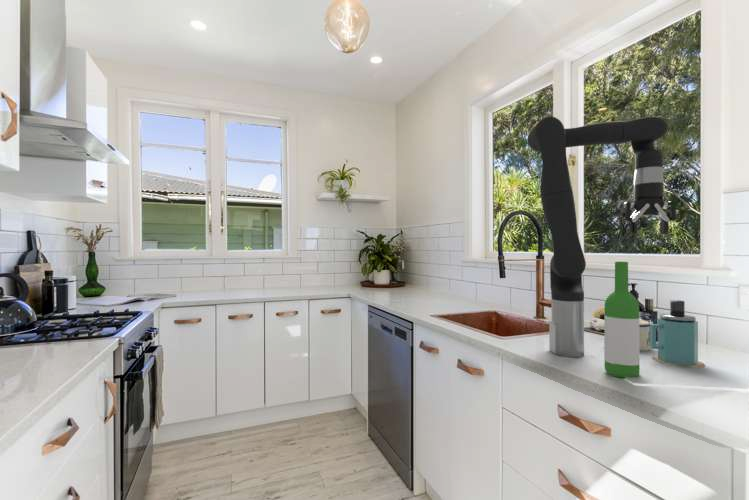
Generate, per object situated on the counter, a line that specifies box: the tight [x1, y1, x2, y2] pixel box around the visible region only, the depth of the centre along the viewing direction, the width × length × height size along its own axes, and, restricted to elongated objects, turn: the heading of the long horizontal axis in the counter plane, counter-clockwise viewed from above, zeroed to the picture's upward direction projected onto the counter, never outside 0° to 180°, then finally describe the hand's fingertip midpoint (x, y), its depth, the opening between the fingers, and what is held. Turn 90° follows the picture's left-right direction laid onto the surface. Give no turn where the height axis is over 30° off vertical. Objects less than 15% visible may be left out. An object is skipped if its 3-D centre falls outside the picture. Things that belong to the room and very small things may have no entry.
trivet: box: [651, 354, 706, 369], centre depth 107 cm, size 12×12×1 cm
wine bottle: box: [603, 261, 641, 379], centre depth 98 cm, size 8×8×30 cm
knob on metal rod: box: [659, 299, 697, 322], centre depth 107 cm, size 8×8×15 cm
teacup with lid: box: [639, 317, 651, 351], centre depth 125 cm, size 12×9×12 cm
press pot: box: [649, 317, 699, 366], centre depth 107 cm, size 11×8×12 cm
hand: (648, 234), depth 116 cm, fingers open, 8 cm apart
